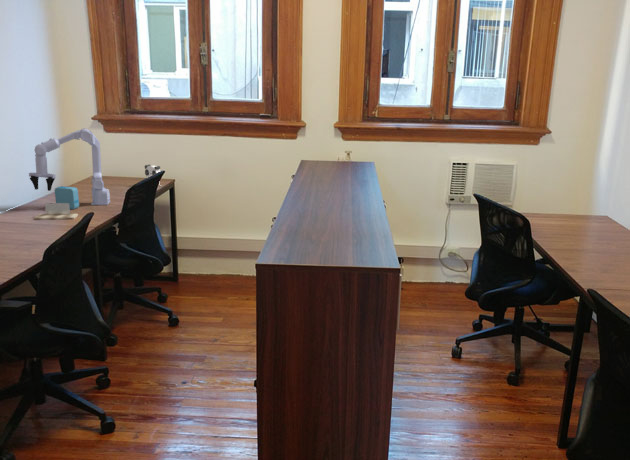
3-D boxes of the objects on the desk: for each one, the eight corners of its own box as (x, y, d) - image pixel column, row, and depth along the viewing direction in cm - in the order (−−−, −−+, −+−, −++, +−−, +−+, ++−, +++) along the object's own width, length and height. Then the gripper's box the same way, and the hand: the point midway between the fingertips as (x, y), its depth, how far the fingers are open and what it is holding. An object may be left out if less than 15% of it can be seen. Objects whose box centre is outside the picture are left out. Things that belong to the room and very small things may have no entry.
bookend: (78, 215, 304) (76, 202, 302) (73, 219, 297) (72, 206, 295) (39, 215, 302) (37, 203, 300) (34, 219, 294) (32, 206, 292)
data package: (79, 207, 320) (77, 187, 317) (74, 209, 316) (72, 189, 312) (61, 206, 323) (59, 186, 319) (56, 208, 318) (54, 187, 315)
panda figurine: (141, 187, 375) (139, 165, 371) (154, 184, 384) (153, 163, 380) (153, 190, 369) (152, 167, 365) (166, 187, 378) (165, 165, 374)
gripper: (24, 166, 309) (26, 190, 313) (49, 168, 308) (51, 192, 312) (32, 164, 316) (34, 187, 319) (56, 166, 315) (58, 189, 318)
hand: (43, 189), depth 316 cm, fingers open, 7 cm apart
